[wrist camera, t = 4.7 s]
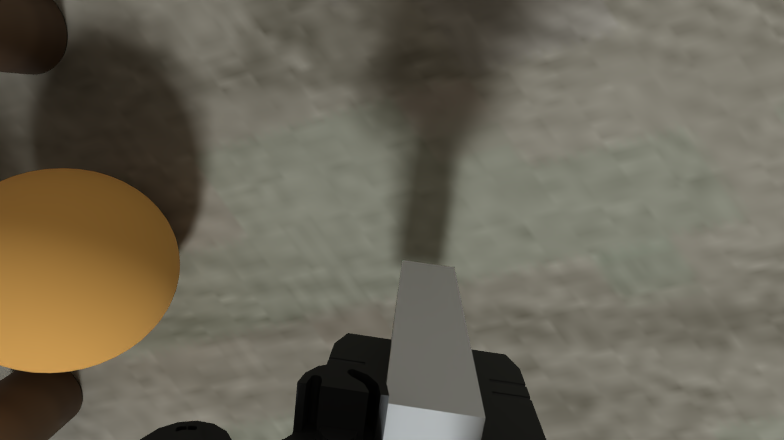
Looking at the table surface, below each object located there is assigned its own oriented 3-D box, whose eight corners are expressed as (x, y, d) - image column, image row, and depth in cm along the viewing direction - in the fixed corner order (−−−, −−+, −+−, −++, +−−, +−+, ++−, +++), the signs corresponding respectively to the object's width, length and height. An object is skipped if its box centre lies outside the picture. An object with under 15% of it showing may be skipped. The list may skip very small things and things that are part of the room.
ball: (-57, 454, 10) (206, 375, 13) (-87, 199, 8) (214, 190, 12) (-60, 338, 13) (146, 301, 17) (-82, 149, 12) (147, 154, 16)
